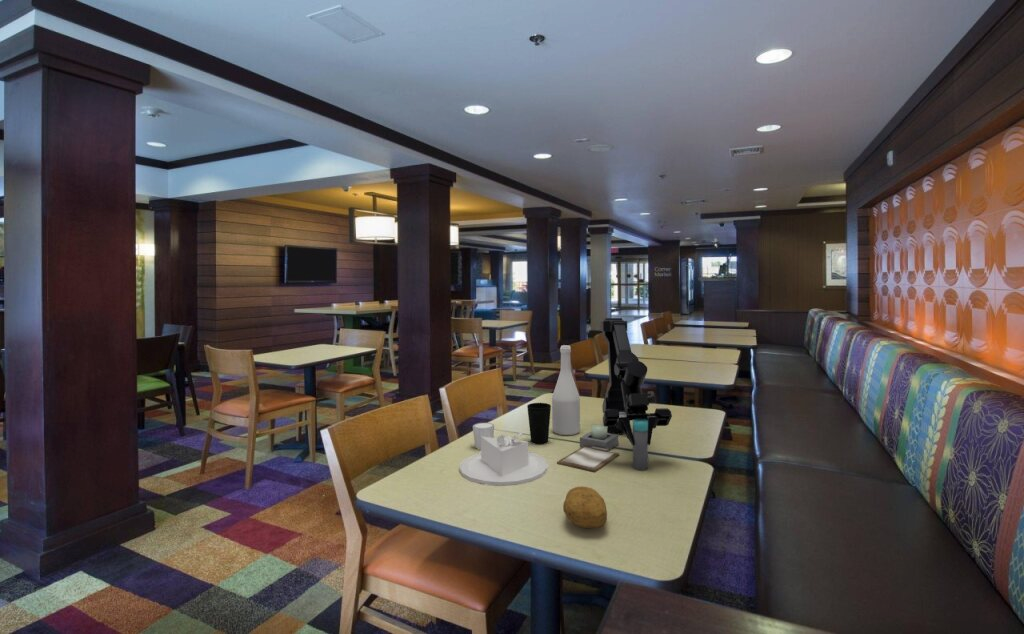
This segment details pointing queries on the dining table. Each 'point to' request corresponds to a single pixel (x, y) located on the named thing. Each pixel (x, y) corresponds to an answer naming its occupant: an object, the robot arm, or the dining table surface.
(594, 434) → the button
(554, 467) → the dining table surface
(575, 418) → the wine bottle
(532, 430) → the cup
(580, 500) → the potato
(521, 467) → the dish
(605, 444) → the button housing
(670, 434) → the dining table surface
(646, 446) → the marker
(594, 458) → the clipboard
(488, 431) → the shot glass
